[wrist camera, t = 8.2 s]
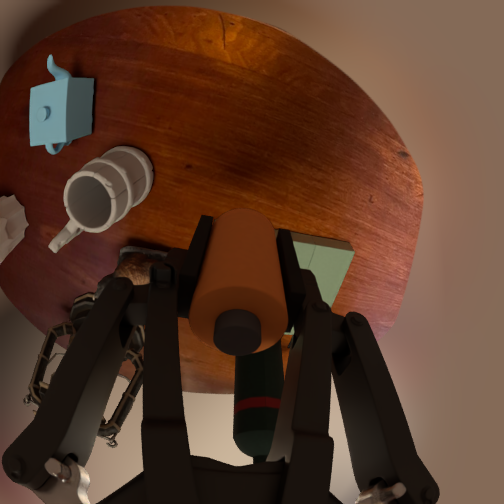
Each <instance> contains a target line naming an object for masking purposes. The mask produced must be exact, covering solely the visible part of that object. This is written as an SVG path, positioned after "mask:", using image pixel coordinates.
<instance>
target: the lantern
mask: <svg viewBox="0 0 504 504" xmlns="http://www.w3.org/2000/svg"><path fill="white" fill-rule="evenodd" d="M93 295H94V294H91V293H88V294H85V295H83V296H81V297H78V298H76V299H75V301H74V305H73V306H72V310H71V314H70V320H71V322H72V323H66V322H63V323H61V324H59V325H56V326H53V327H51V328H48V333H47V336H46V338H45V341H44V343H43V346H42V349H41V352H40V354H39V355H38V360H37V363H36V366H35V369H34V373H33V376H32V379H31V382H30V384H29V386H28V389H29V390H30V394H29V395H26V397H25V398H24V399H23V403H24V404H25V405H26V406H29V405H30V404H29V403H30V402H31V403H32V404H34V405H36V406H37V407H39V406H40V404H41V401H42V399H43V397H44V395H45V393H46V391H47V388H48V386H49V384H47V383H44V382H42V381H43V377H44V374H45V370H46V367H47V365H48V364H49V363H50V362H51V361H52V360H53V358H54V357H55V356H56V355H65V354H60V353H58V354H57V353H55V355H54V356H53V357H52V358H51V359H50V360H49V358H50V355H51V351H52V349H53V345H54V343H55V340H56V339H57V337H59V336H62V335H67V334H70V335H71V336H70V340H69V345H70V344H71V342H72V340H73V338H74V337H75V335H76V333H77V331H78V330H79V328H80V326H81V324H82V323H83V321H84V319H85V318H86V316H87V314H88V313H89V311H90V310H91V308H92V306H93V305H94V303H95V302H96V300H97V297H95V300H93ZM144 339H145V333H144V328H143V325H139V326H137V328H136V330H135V332H134V335H133V337H132V340H131V342H130V344H129V347H128V349H127V352H126V354H125V357H124V359H123V361H126V360H127V359H130V360H131V362H132V364H134V366H135V368H136V371H135V375H134V376H133V378H132V380H131V381H130V380H129V379H128V378H127V377H125V376H123V375H121V374H118V375H119V376H121V377H123V378H125V379H127V380H128V382H129V383H130V384H129V385H128V387H127V389H126V391H125V392H124V393H123V394H122V398H121V400H120V402H119V404H118V406H117V408H116V410H115V411H114V413H113V415H112V417H111V419H110V420H109V421H108V423H107V424H105V422H106V420H105V418H104V416H103V417H102V420H101V423H100V426H99V429H98V433H97V436H99V437H101V438H104V439H106V440H109V441H110V443H111V444H112V443H113V442H114V443H115V444H114V445H110V444H109V443H106V444H107V445H108V446H109V447H112V448H115V447H117V445H118V444H117V442H116V441H115V440H114V439H115V437H116V435H117V433H119V432H120V430H121V426H122V424H123V422H124V421H125V419H126V417H127V415H128V413H129V412H130V410H131V408H132V406H133V402H134V401H135V397H136V395H137V393H138V391H139V389H140V387H141V385H142V384H143V359H142V355H141V354H139V352H140V350H141V349H142V347H143V345H144ZM69 345H68V346H67V348H68V347H69ZM121 366H122V365H121ZM54 374H55V372H54V373H53V374H52V375H51V380H52V378H53V376H54ZM51 380H50V382H51ZM31 397H32V399H33V401H34V402H33V401H32V400H31ZM28 398H29V399H28ZM25 401H26V402H27V403H26V402H25ZM33 413H34V415H36V413H37V411H35V410H33ZM112 434H114V435H113V436H112V437H111V438H108V437H106V436H110V435H112Z"/></svg>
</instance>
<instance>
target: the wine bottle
mask: <svg viewBox="0 0 504 504" xmlns="http://www.w3.org/2000/svg"><path fill="white" fill-rule="evenodd" d="M283 386H284V372H283V361H282V350H281V339H280V340H279V341H278V342H277V343H275V344H274V345H273V346H271V347H269V348H267V349H265V350H262V351H259V352H256V353H251V354H248V355H243V356H236V361H235V389H234V422H233V423H234V424H233V439H234V441H235V443H236V445H237V447H238V448H239V449H240V450H241V451H242V452H243V453H244V454H246V455H248V456H250V457H253V464H255V463H260V462H265V461H266V459H267V457H268V455H269V453H270V450H271V446H272V442H273V437H274V432H275V428H276V423H277V418H278V413H279V408H280V402H281V397H282V392H283Z"/></svg>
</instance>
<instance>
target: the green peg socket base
mask: <svg viewBox="0 0 504 504" xmlns="http://www.w3.org/2000/svg"><path fill="white" fill-rule="evenodd" d="M215 221H216V220H214V222H215ZM274 231H275V237H276V238H277V234H278V230H276V229H274ZM291 236H292V240H293V243H294V247H295V251H296V255H297V258H298V262H299V266H300V268H302V269H308V270H311V271H312V273H313V274H314V275H315V277H316V280H317V284H318V287H319V290H320V293H321V296H322V300H323V301H324V302H326V303H327V304H328V305H329V306H330V307H331V306H332V304H333V302H334V300H335V297H336V295H337V293H338V291H339V289H340V286H341V284H342V282H343V279H344V277H345V275H346V272H347V270H348V268H349V265H350V263H351V261H352V258H353V256H354V253H355V251H354V249H353V248H352V246H351V244H350V243H349V242H344V241H338V240H333V239H327V238H322V237H316V236H311V235H305V234H299V233H294V232H291ZM284 334H288V335H293V334H294V326H293V328H292V330H291V332H290V333H286V332H285V333H284Z"/></svg>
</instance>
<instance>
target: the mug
mask: <svg viewBox="0 0 504 504" xmlns="http://www.w3.org/2000/svg"><path fill="white" fill-rule="evenodd" d="M152 169H153V167H152V164H151V162H150V160H149V159H148V157H147V156H146V155H145V154H144V153H143V152H142V151H140V150H139V149H137V148H136V149H135V148H134V147H128V146H118V147H115V148H113V149H111V150H109V151H107V152H106V153H105V154H104V155H103V156H102V157H101V158H99V157H97V158H95V159H93V160H92V161H90V162H89V163H87V164H86V165H85V166H84V167H83V168H82V169H81V170H80V171H78V172H77V173H75V174H74V175H73V176H72V177H71V179H69V180H68V182H67V184H66V186H65V190H64V204H65V206H67V207H66V211H67V213H68V215H69V217H70V218H71V219H70V221H69V222H68V224H67V225H66V226H65V228H64V229H63V230H62V231H61V232H60V233H59V234H58V235H57V236H56V237H55V238H54V239H53V240H52V241H51V243H50V244H49V248H50V249H51V250H52V251H53V252H54V253H57V252H58V250H59V249H60V248H61V247H62V246H63V245H64V244H66V243H68V242H69V241H70V240H72V239H73V238H74V237H75V236H76V235H78V234H80V233H81V232H82V231H83V230H84V229H85V231H88V232H95V233H98V232H102V231H104V230H106V229H107V228H109V227H110V226H111V225H112V224H113V223H115V222H117V221H119V220H121V219H122V218H123V217H124V216H125V215H126V214H127V213H128V212H129V210H130V208H131V207H134V206H136V205H138V204H139V203H141V202H142V201H143V200H144V199H145V198H146V196H147V195H148V193H149V191H150V189H151V186H152V182H153V172H152Z"/></svg>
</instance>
